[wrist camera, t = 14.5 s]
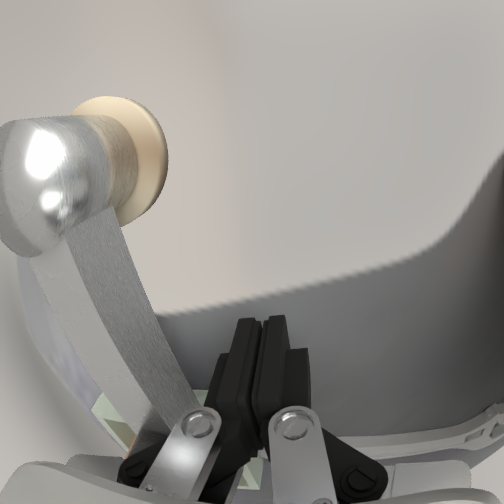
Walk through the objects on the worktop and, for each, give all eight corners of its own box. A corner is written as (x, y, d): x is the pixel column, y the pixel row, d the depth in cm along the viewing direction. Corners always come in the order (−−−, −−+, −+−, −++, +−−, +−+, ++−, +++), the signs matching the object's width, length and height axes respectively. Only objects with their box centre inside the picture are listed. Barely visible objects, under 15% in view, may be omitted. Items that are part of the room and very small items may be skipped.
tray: (263, 460, 20) (260, 489, 18) (159, 451, 22) (149, 475, 20) (237, 389, 17) (228, 428, 14) (108, 382, 19) (90, 410, 16)
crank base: (182, 209, 13) (174, 216, 12) (82, 231, 14) (71, 238, 13) (153, 78, 10) (143, 75, 10) (56, 123, 12) (43, 125, 11)
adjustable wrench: (255, 442, 20) (252, 460, 19) (267, 397, 18) (264, 418, 16) (490, 434, 18) (494, 446, 17) (525, 393, 16) (532, 405, 14)
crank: (51, 137, 11) (-79, 171, 4) (123, 98, 10) (-33, 98, 3) (162, 399, 16) (120, 493, 10) (228, 400, 15) (199, 511, 9)
